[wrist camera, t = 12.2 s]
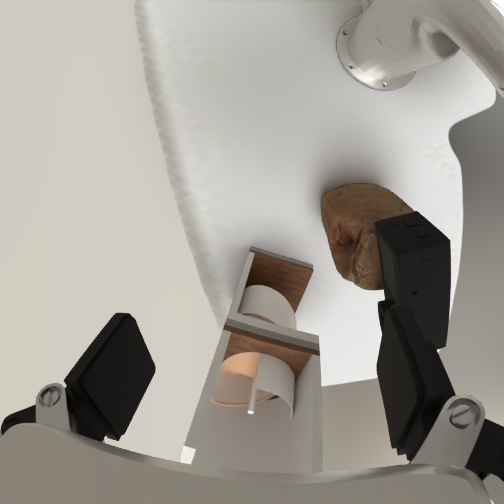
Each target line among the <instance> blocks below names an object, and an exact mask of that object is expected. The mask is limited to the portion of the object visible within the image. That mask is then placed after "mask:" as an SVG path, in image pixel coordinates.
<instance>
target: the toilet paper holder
mask: <svg viewBox="0 0 504 504" xmlns="http://www.w3.org/2000/svg"><path fill="white" fill-rule="evenodd" d="M312 273H313V265H310V264H307V263H304V262H300V261H297V260H294V259H291V258H287V257H284V256H281V255H278V254H275V253H271V252H268V251H265V250H262V249H258V248H255V247H252V246H251V248H250V251H249V254H248V257H247V260H246V263H245V266H244V269H243V272H242V275H241V278H240V281H239V284H238V287H237V290H236V293H235V296H234V298H233V301H232V304H231V307H230V310H229V313H228V316H227V319H226V322H225V325H224V328H223V331H222V334H221V337H220V340H219V343H218V346H217V349H216V352H215V355H214V358H213V361H212V364H211V367H210V370H209V373H208V376H207V379H206V382H205V385H204V388H203V391H202V394H201V397H200V400H199V403H198V405H197V408H196V411H195V414H194V418H193V420H192V423H191V426H190V429H189V432H188V435H187V438H186V441H185V445H184V448H183V452H182V456H181V461H180V463H186V464H192V465H198V466H204V467H212V468H220V469H228V470H239V471H251V472H270V473H315V472H322V462H323V455H322V454H323V453H322V452H323V449H322V448H323V446H322V444H323V443H322V442H323V437H322V394H321V393H322V392H321V369H320V350H319V336H317V335H313V334H309V333H305V332H302V331H298V330H296V317H295V312H296V310H297V307H298V305H299V303H300V301H301V298H302V296H303V294H304V292H305V289H306V287H307V285H308V282H309V280H310V278H311V275H312Z"/></svg>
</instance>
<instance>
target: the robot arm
mask: <svg viewBox="0 0 504 504" xmlns="http://www.w3.org/2000/svg"><path fill="white" fill-rule="evenodd" d="M360 3H361V7H362V9H363V12H362V13H361V14H360V15H359V16H356V17H354V18H352V19H350V20H349V21H347V22H346V23H345V24H344V26H343V27H342V28H341V30H340V32H339V34H338V38H337V52H338V56H339V59H340V61H341V63H342V65H343V66H344V68H345V69H346V71H347V72H348V73H349V74H350V75H351V76H352V77H353V78H354V79H355V80H357V81H358V82H360V83H361V84H363V85H365V86H367V87H369V88H372V89H376V90H384V91H388V90H395V89H398V88H401V87H403V86H405V85H406V84H407V83H409V82H410V81H411V80H412V78H413V77H414V75H415V74H416V71H417V70H420V69H423V68H426V67H429V66H432V65H435V64H438V63H441V62H444V61H446V60H448V59H450V58H452V57H453V56H454V55H455V54H456V53H457V52H458V51H459V50H460V48H461V49H462V50H463V51H464V53H465V54H466V55H467V56H469V57H470V58H471V59H472V60H473V62H474V63H475V64H476V65H477V66H478V67H479V68H480V70H481V71H482V72H483V73H484V74H485V76H486V77H487V78H488V79H489V80H490V82H491V83H492V84H493V86H494V87H495V88H496V89H497V90H498V92H499V93H500V95H501V96H502V97H503V98H504V0H373V2H372V3H371V5H370V2H369V0H360ZM343 33H345V34H346V35H344V34H343ZM349 66H351V67H352V69H350V68H349ZM382 84H384V85H385V87H383V85H382ZM154 374H155V364H154V362H153V360H152V358H151V355H150V353H149V351H148V349H147V346H146V344H145V342H144V339H143V337H142V335H141V332H140V330H139V327H138V325H137V322H136V320H135V319H134V318H133V317H132V316H131V315H130V314H129V313H116V314H115V315H113V317H112V318H111V319H110V320H109V322H108V323H107V324H106V325H105V327H104V328H103V329H102V330H101V332H100V333H99V334H98V335H97V337H96V338H95V339H94V341H93V342H92V343H91V344H90V346H89V347H88V348H87V350H86V351H85V352H84V354H83V355H82V356H81V358H80V359H79V360H78V362H77V363H76V364H75V366H74V367H73V368H72V370H71V371H70V372H69V374H68V375H67V376H66V378H65V379H64V382H65V383H66V385H67V386H66V388H64V387H63V386H62V385H61V384H59V383H53V384H49V385H47V386H45V387H44V388H43V389H41V391H40V392H39V393H38V395H37V397H36V405H33V406H31V407H28V408H26V409H23V410H21V411H18V412H15V413H13V414H11V415H9V416H7V417H6V418H5V419H4V421H3V423H2V426H1V430H0V504H491V501H490V499H491V500H492V501H493V502H494V503H495V504H504V427H503V426H501V425H499V424H496V423H494V422H492V421H490V420H487V419H485V410H484V407H483V405H482V403H481V402H480V401H479V400H478V399H477V398H475V397H473V396H471V395H467V394H459V395H455V392H454V390H453V387H452V385H451V382H450V380H449V377H448V375H447V373H446V370H445V368H444V366H443V363H442V361H441V359H440V357H439V354H438V352H437V350H436V348H435V346H434V344H433V342H432V340H431V339H430V338H424V336H423V334H422V332H421V330H420V328H419V325H418V323H417V321H416V319H415V317H414V315H413V313H412V311H411V309H410V307H409V305H408V304H397V305H392V306H391V308H390V310H386V313H385V320H384V326H383V332H382V338H381V344H380V350H379V355H378V360H377V375H378V379H379V384H380V389H381V394H382V398H383V403H384V408H385V413H386V419H387V424H388V430H389V435H390V441H391V446H392V448H397V454H398V455H403V454H406V456H407V460H409V461H410V462H409V464H407V465H396V466H387V467H379V468H369V469H361V470H350V471H336V472H315V473H270V472H251V471H239V470H228V469H220V468H212V467H204V466H198V465H192V464H186V463H180V462H175V461H170V460H165V459H161V458H156V457H152V456H148V455H143V454H140V453H136V452H132V451H129V450H125V449H121V448H118V447H115V446H111V445H109V444H105V441H104V437H105V435H106V436H107V437H108V438H110V439H113V440H116V441H119V439H120V437H121V435H123V434H125V432H126V430H127V428H128V426H129V424H130V422H131V420H132V418H133V416H134V414H135V412H136V410H137V408H138V406H139V404H140V401H141V400H142V397H143V396H144V394H145V392H146V390H147V387H148V385H149V384H150V382H151V380H152V378H153V376H154Z"/></svg>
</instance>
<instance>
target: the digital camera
mask: <svg viewBox="0 0 504 504" xmlns="http://www.w3.org/2000/svg"><path fill="white" fill-rule="evenodd" d="M374 226H375V231H376V237H377V243H378V249H379V256H380V263H381V270H382V278H383V286H384V295H385V300H383V301H379V302H378V313H379V320H380V326H381V331H382V332H383V326H384V320H385V313H386V310H390V308H391V306H392V305H397V304H408V305H409V307H410V309H411V311H412V313H413V315H414V317H415V319H416V321H417V323H418V325H419V328H420V330H421V332H422V334H423V336H424V338H430V339H431V340H432V342H433V344H434V346H435V348H436V350H437V349H440V348H443V347H445V346H446V341H447V333H448V323H449V310H450V290H451V249H450V240H449V239H448V238H447V237H446V236H445V235H444V234H443V233H442V232H441V231H440V230H439V229H437V228H436V227H435V226H434V225H433V224H432V223H431V222H429V221H428V220H427V219H426V218H425V217H423V216H422V215H421V214H420V213H419V212H417V211H414V212H410V213H406V214H403V215H399V216H395V217H391V218H387V219H383V220H379V221H376V222H375V223H374Z"/></svg>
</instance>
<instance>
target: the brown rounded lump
mask: <svg viewBox="0 0 504 504" xmlns="http://www.w3.org/2000/svg"><path fill="white" fill-rule="evenodd" d="M410 212H414V210H413V209H412V208H411V207H410V206H408V205H407V204H406V203H405V202H404V201H403V200H402V199H401V198H399V197H398V196H397V195H395V194H394V193H393V192H391V191H390V190H388V189H386V188H383V187H379V186H377V185H375V184H350V185H346V186H341V187H338V188H335V189H332V190H331V191H330V192H326V193H325V194H324V195H323V197H322V199H321V216H322V222H323V225H324V228H325V232H326V234H327V237H328V243H329V247H330V250H331V253H332V257H333V260H334V263H335V266H336V268H337V271H338V272H339V273H340V274H341V275H342V278H344V279H346V280H348V281H351V282H354V284H355V285H357V286H359V287H360V288H362V289H365V290H384V286H383V278H382V270H381V263H380V256H379V249H378V243H377V237H376V231H375V226H374V223H375V222H376V221H379V220H383V219H387V218H391V217H395V216H399V215H403V214H406V213H410Z"/></svg>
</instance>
